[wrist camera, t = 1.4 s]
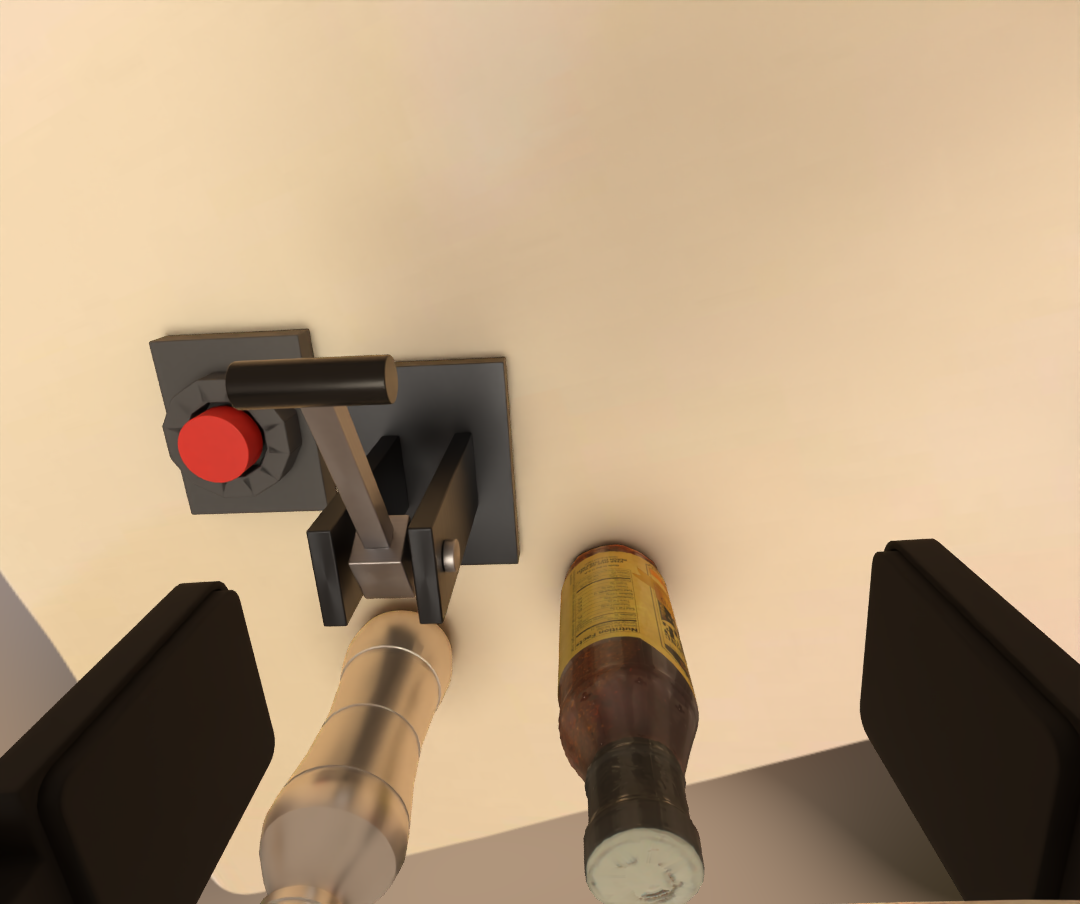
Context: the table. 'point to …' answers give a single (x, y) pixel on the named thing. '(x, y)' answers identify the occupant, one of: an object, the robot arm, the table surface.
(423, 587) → the bracket
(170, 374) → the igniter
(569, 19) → the table surface
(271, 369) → the lever
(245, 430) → the button
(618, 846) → the sauce bottle
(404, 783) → the plastic bottle
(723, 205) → the table surface
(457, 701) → the table surface
